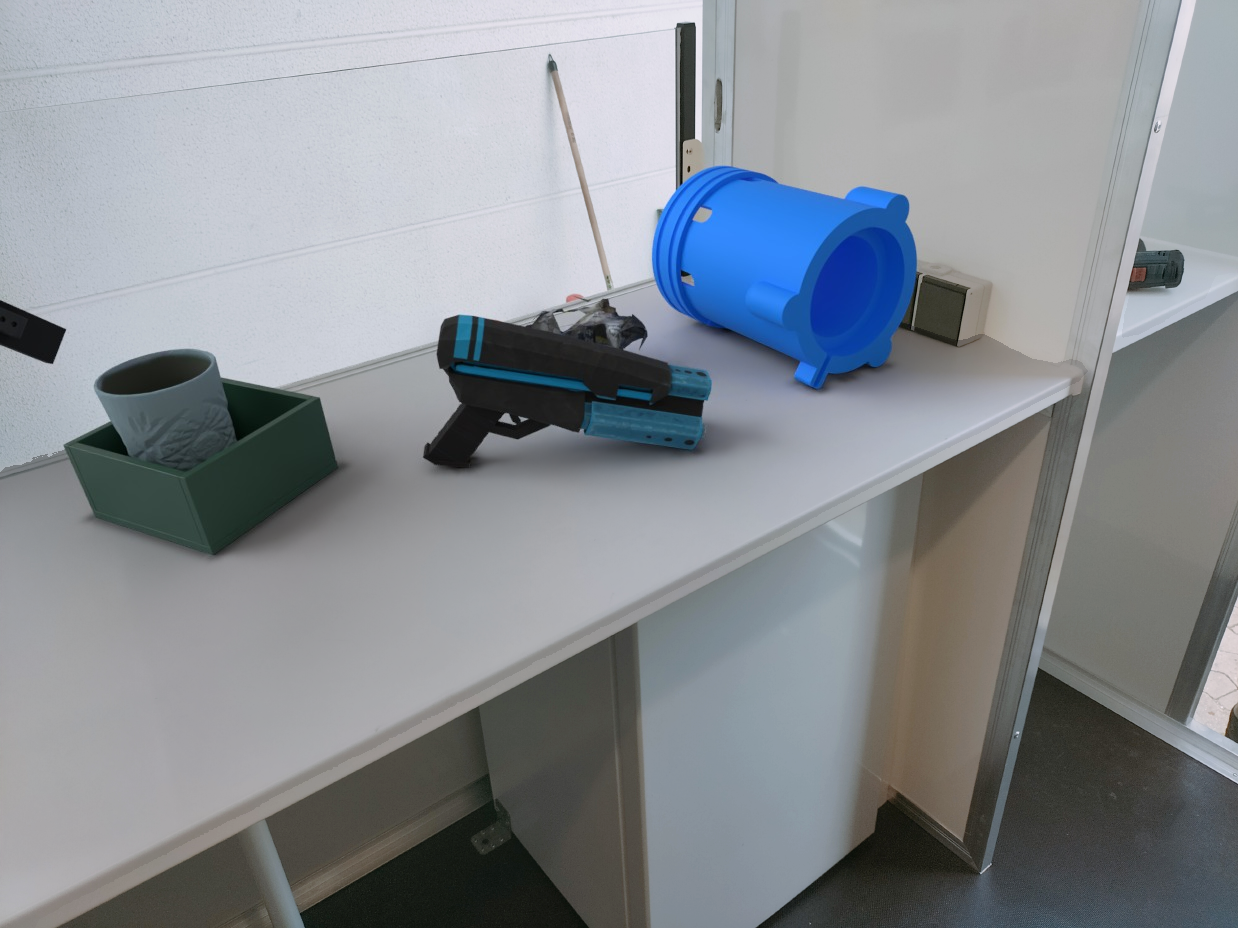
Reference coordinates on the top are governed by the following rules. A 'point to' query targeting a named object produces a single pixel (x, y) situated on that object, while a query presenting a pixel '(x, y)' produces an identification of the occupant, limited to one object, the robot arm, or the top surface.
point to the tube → (789, 266)
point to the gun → (559, 389)
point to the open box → (212, 471)
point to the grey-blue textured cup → (168, 407)
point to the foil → (597, 325)
